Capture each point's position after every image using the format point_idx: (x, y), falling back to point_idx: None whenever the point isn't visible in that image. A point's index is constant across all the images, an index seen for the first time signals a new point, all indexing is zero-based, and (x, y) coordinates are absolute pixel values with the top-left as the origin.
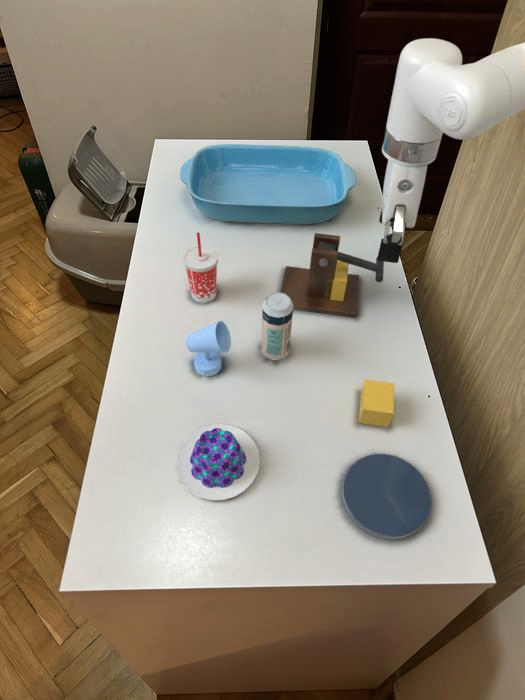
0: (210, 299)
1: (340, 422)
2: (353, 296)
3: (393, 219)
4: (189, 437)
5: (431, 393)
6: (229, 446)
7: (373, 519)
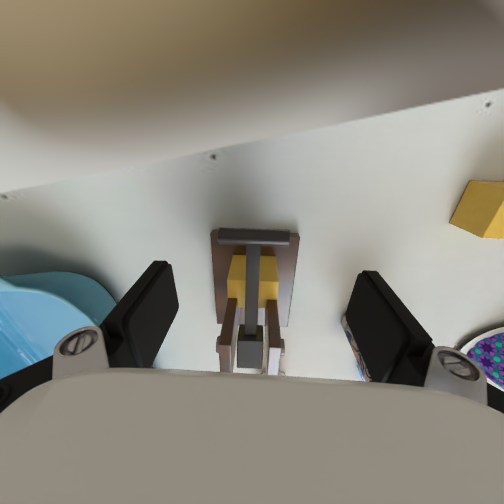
0: (283, 375)
1: (489, 247)
2: None
3: (165, 289)
4: None
5: (483, 98)
6: None
7: None
